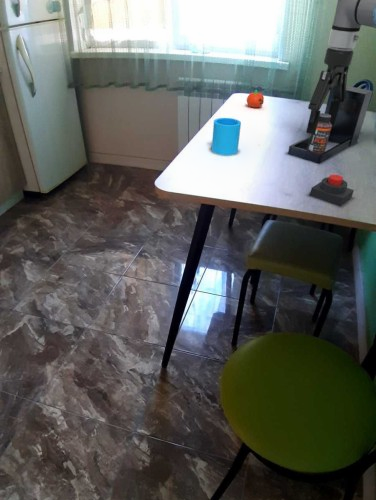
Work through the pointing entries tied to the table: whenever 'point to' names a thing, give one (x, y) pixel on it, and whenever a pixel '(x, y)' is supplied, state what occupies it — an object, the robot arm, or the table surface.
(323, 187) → the control block
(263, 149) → the table surface
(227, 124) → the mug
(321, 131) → the supplement bottle
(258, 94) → the pumpkin
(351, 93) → the dark l-shaped stand
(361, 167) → the table surface
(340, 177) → the button
